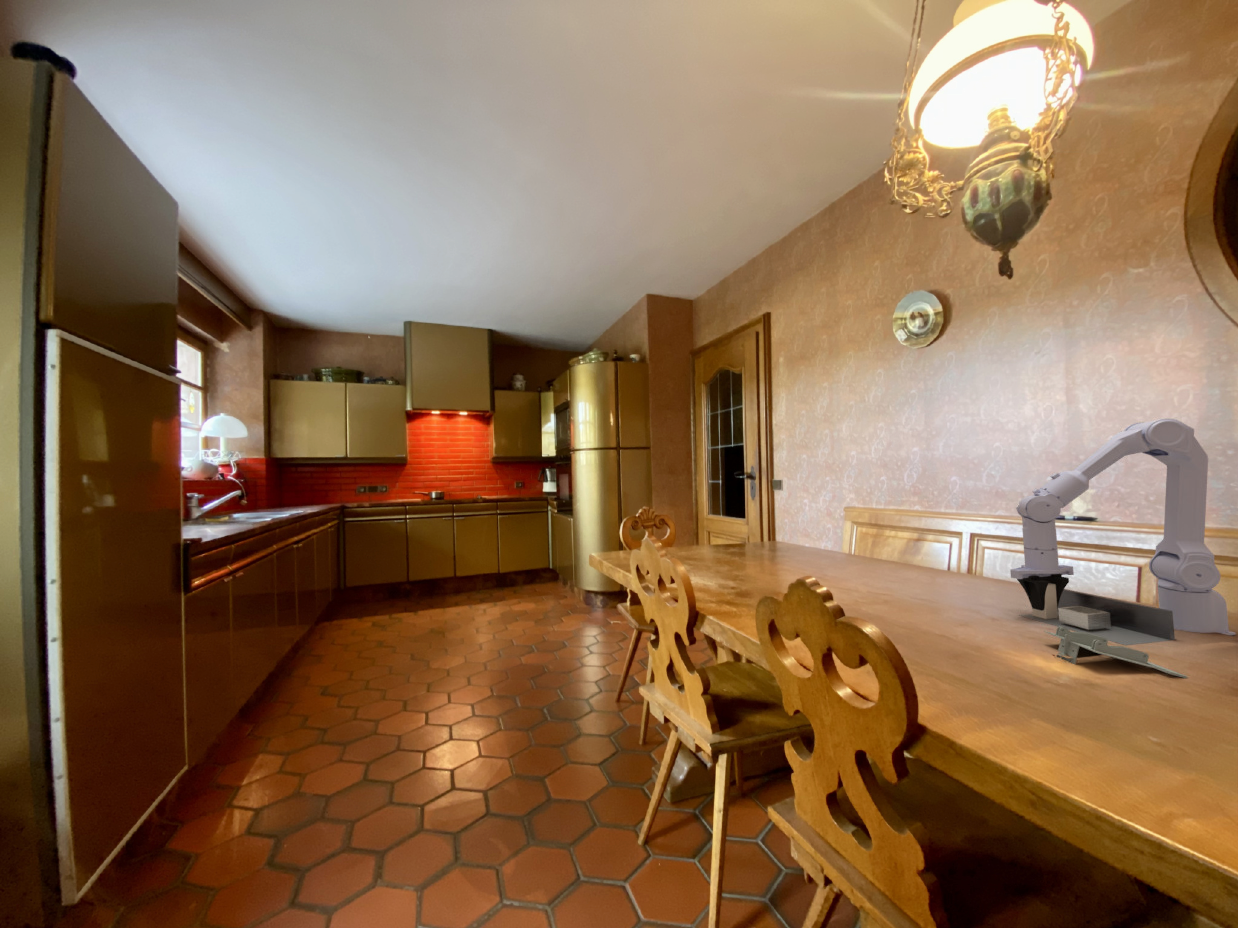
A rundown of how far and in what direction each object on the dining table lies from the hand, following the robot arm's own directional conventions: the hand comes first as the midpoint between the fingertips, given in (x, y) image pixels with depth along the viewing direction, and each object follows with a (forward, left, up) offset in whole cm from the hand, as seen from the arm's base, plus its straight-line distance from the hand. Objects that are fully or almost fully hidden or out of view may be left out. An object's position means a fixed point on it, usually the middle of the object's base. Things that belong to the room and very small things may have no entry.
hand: (1044, 608), depth 105 cm
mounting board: (-2, +7, -3) cm, 8 cm away
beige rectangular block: (0, 0, -2) cm, 2 cm away
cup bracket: (-3, +7, -2) cm, 8 cm away
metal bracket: (+13, +20, -4) cm, 24 cm away
